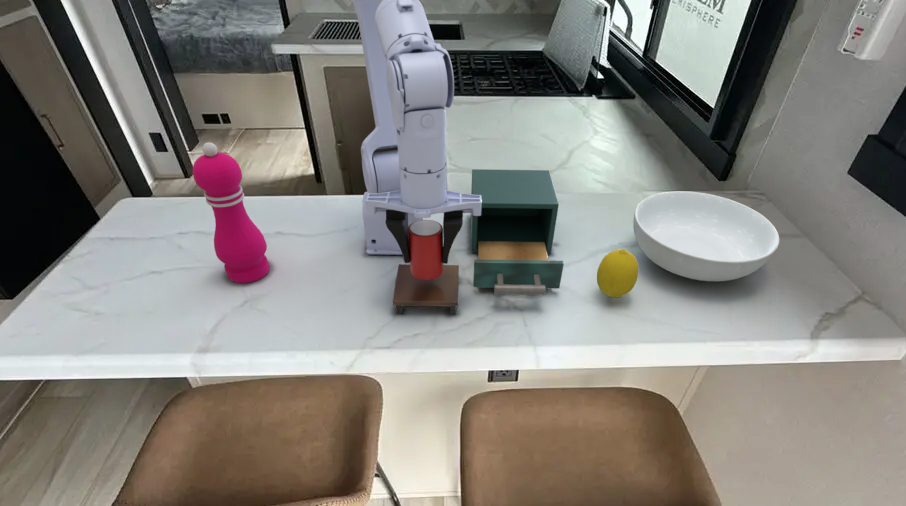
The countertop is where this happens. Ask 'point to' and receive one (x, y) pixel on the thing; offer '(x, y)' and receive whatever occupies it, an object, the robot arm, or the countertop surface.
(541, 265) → the handled drawer
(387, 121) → the robot arm
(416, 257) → the can
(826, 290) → the countertop surface
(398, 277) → the brown square board
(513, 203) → the teal open box
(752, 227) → the serving bowl
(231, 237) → the pepper mill
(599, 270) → the lemon
